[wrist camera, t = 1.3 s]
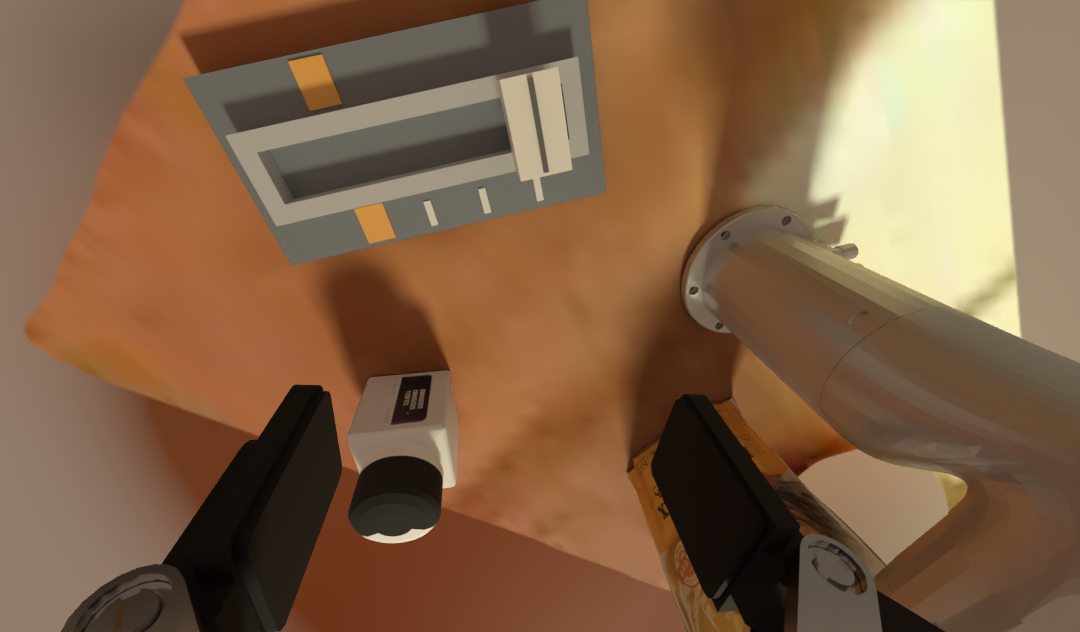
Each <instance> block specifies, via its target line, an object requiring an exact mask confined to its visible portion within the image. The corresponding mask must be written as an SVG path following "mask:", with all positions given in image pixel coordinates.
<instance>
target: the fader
mask: <svg viewBox="0 0 1080 632" xmlns="http://www.w3.org/2000/svg"><path fill="white" fill-rule="evenodd" d="M497 85H498V90H499V94H500V99H501V104H502V108H503V113H504V118H505V122H506V127H507V132H508V136H509V141H510V146H511V150H512V155H513V160H514V164H515V169H516V173H517V175H518V177H519V179H520V181H521V182H522V181H527V180H531V179H535V178H539V177H544V176H548V175H552V174H557V173H561V172H565V171H570V170H572V162H571V155H570V148H569V141H568V134H567V126H566V119H565V112H564V105H563V98H562V91H561V83H560V76H559V69H558V67H555V68H551V69H546V70H542V71H537V72H533V73H528V74H524V75H519V76H515V77H511V78H506V79H502V80H498V81H497Z"/></svg>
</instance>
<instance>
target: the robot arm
mask: <svg viewBox="0 0 1080 632" xmlns="http://www.w3.org/2000/svg"><path fill="white" fill-rule="evenodd" d="M857 255H858V249H857V247H856V245H854V244H851V243H849V244H845V245H841V246H837V247H835V248H830V247H828V246H826V245H824V244H822V243H819V242H817V241H815V239H814V235H813V233H812V230H811V228H810V226H809V225H808V224H807V223H806V222H805V220H804V219H803V218H801V217H800V216H798V215H797V214H795V213H794V212H791V211H788V210H786V209H783V208H779V207H773V206H759V207H754V208H750V209H746V210H743V211H741V212H738V213H736V214H734V215H731V216H730V217H728V218H726V219H725V220H723V221H722V222H720V223H719V224H717V225H716V226H715V227H714V228H713V229H712V230H710V231H709V232H708V233H707V234H706V235H705V236H704V237H703V239H702V240H701V241H700V242H699V243H698V244H697V246H696V247H695V249H694V251H693V252H692V254H691V255H690V257H689V259H688V262H687V264H686V266H685V269H684V273H683V277H682V284H681V293H682V299H683V303H684V305H685V308H686V310H687V311H688V313H689V314H690V315H691V317H692V318H693V319H694V320H695V321H696V322H697V323H698V324H699V325H701V326H703V327H704V328H706V329H708V330H711V331H714V332H718V333H733V334H734V335H735V336H736V337H737V338H738V339H739V340H740V341H741V342H742V343H743V344H744V345H745V346H746V347H747V348H748V349H750V350H751V351H752V352H753V353H754V354H755V355H756V356H757V357H758V358H759V359H760V360H761V361H762V362H763V363H764V364H765V365H766V366H767V367H768V368H769V369H771V370H772V371H773V372H774V373H775V374H776V375H777V376H778V377H779V378H780V379H781V380H782V381H783V382H784V383H785V384H786V385H787V386H788V387H789V388H790V389H792V390H793V391H794V392H795V393H796V394H797V395H798V396H799V397H800V398H801V399H802V400H803V401H804V402H805V403H806V404H807V405H808V406H809V407H810V408H812V409H813V410H814V411H815V412H816V413H817V414H818V415H819V416H820V417H821V418H822V419H823V420H824V421H825V422H826V423H827V424H829V425H830V426H831V427H832V428H833V429H834V430H835V431H836V432H837V433H838V434H839V435H840V436H842V437H843V438H844V439H845V440H846V441H847V442H849V443H850V444H851V445H853V446H854V447H856V448H857V449H859V450H860V451H862V452H864V453H866V454H868V455H870V456H872V457H874V458H876V459H879V460H882V461H885V462H888V463H891V464H895V465H899V466H904V467H909V468H915V469H921V470H928V471H936V472H943V473H948V474H951V475H954V476H956V477H959V478H960V479H962V480H963V481H964V482H965V483H966V485H967V492H966V494H965V496H964V498H963V499H962V500H961V501H960V502H959V503H957V504H956V505H955V506H954V507H953V508H952V509H951V510H950V511H949V512H948V515H946V516H945V517H944V518H943V519H942V520H940V521H939V522H938V523H937V524H935V525H934V526H933V527H932V528H930V529H929V530H928V531H927V532H926V533H924V534H923V535H922V536H921V537H919V538H918V539H917V540H916V541H915V542H913V543H912V544H911V545H910V546H908V547H907V548H906V549H905V550H904V551H902V552H901V553H900V554H899V555H898V556H896V557H895V558H894V559H893V560H892V561H891V562H890V563H889V564H888V565H886V566H885V567H884V568H883V569H882V570H881V571H880V572H879V573H878V574H877V575H876V576H875V577H874V578H873V577H872V575H871V574H870V572H869V570H868V569H867V567H866V566H865V565H864V563H863V562H862V561H861V560H860V559H859V558H858V557H857V556H856V555H855V554H854V553H853V552H852V551H850V550H849V549H848V548H847V547H845V546H844V545H842V544H841V543H839V542H838V541H836V540H834V539H832V538H829V537H827V536H824V535H819V534H810V535H807V536H805V537H804V536H803V535H802V534H801V532H800V531H799V529H800V527H801V526H800V525H799V523H798V522H797V521H796V519H795V518H794V516H793V515H792V514H791V512H790V511H789V510H788V508H787V507H786V505H785V504H784V503H783V501H782V500H781V499H780V497H779V496H778V494H777V493H776V492H775V490H774V489H773V488H772V486H771V485H770V483H769V482H768V481H767V479H766V478H765V476H764V475H763V474H762V472H761V471H760V470H759V468H758V467H757V465H756V464H755V463H754V461H753V460H752V459H751V457H750V456H749V454H748V453H747V452H746V450H745V449H744V448H743V446H742V445H741V443H740V442H739V441H738V439H737V438H736V437H735V435H734V434H733V432H732V431H731V430H730V428H729V427H728V425H727V424H726V423H725V421H724V420H723V419H722V417H721V416H720V414H719V413H718V412H717V410H716V409H715V408H714V406H713V405H712V403H711V402H710V401H709V399H708V398H707V397H706V396H705V395H696V394H684V395H682V396H681V398H680V399H677V400H676V402H675V404H674V406H673V409H672V411H671V414H670V416H669V419H668V421H667V424H666V426H665V429H664V431H663V434H662V436H661V439H660V441H659V444H658V446H657V449H656V451H655V454H654V456H653V459H652V461H651V472H652V475H653V478H654V480H655V482H656V484H657V487H658V489H659V491H660V494H661V496H662V498H663V500H664V503H665V505H666V507H667V510H668V512H669V514H670V517H671V519H672V521H673V523H674V526H675V528H676V530H677V533H678V535H679V537H680V539H681V542H682V544H683V546H684V549H685V551H686V553H687V555H688V558H689V560H690V562H691V565H692V567H693V569H694V571H695V574H696V576H697V578H698V581H699V583H700V585H701V588H702V590H703V592H704V594H705V595H706V596H707V597H708V598H710V599H712V601H713V603H714V606H715V608H716V610H717V612H729V611H737V610H739V612H740V615H741V617H742V619H743V621H744V623H743V630H742V632H1080V363H1079V362H1076V361H1074V360H1071V359H1069V358H1066V357H1064V356H1061V355H1059V354H1057V353H1054V352H1052V351H1049V350H1047V349H1044V348H1042V347H1040V346H1037V345H1035V344H1033V343H1031V342H1028V341H1026V340H1024V339H1021V338H1019V337H1017V336H1015V335H1012V334H1010V333H1008V332H1005V331H1003V330H1001V329H999V328H997V327H994V326H992V325H990V324H988V323H986V322H983V321H981V320H979V319H977V318H975V317H972V316H970V315H968V314H966V313H964V312H961V311H959V310H956V309H954V308H952V307H950V306H947V305H945V304H943V303H941V302H939V301H937V300H934V299H932V298H930V297H928V296H926V295H924V294H921V293H919V292H917V291H915V290H913V289H911V288H908V287H906V286H904V285H902V284H900V283H898V282H895V281H893V280H891V279H889V278H887V277H885V276H882V275H880V274H878V273H876V272H874V271H871V270H869V269H867V268H865V267H864V266H862V265H861V264H859V263H854V262H852V261H850V260H849V259H853V258H855V257H856V256H857ZM341 470H342V462H341V456H340V450H339V444H338V438H337V431H336V425H335V419H334V413H333V407H332V401H331V395H330V392H328V391H323V388H322V387H321V386H320V385H294V386H293V387H292V388H291V389H290V391H289V392H288V394H287V395H286V397H285V398H284V400H283V401H282V403H281V404H280V406H279V407H278V409H277V410H276V412H275V414H274V415H273V417H272V418H271V420H270V421H269V423H268V424H267V426H266V427H265V429H264V430H263V432H262V433H261V435H260V437H259V438H258V440H249V441H248V442H247V443H245V444H244V445H243V446H242V448H241V449H240V450H239V451H238V453H237V455H236V456H235V457H234V459H233V460H232V462H231V463H230V465H229V466H228V468H227V469H226V471H225V472H224V473H223V475H222V476H221V478H220V479H219V481H218V482H217V484H216V485H215V487H214V488H213V490H212V491H211V493H210V494H209V495H208V497H207V498H206V500H205V501H204V503H203V504H202V506H201V507H200V509H199V510H198V512H197V513H196V515H195V516H194V517H193V519H192V520H191V522H190V523H189V525H188V526H187V528H186V529H185V531H184V532H183V534H182V535H181V536H180V538H179V539H178V541H177V543H176V544H175V545H174V547H173V548H172V550H171V551H170V553H169V554H168V555H167V557H166V558H165V560H164V561H163V563H162V564H153V565H148V566H144V567H139V568H136V569H134V570H131V571H129V572H127V573H124V574H122V575H120V576H118V577H116V578H115V579H113V580H111V581H110V582H108V583H106V584H105V585H103V586H102V587H100V588H99V589H98V590H96V591H95V592H94V593H93V594H92V595H90V596H89V597H88V598H87V599H86V600H84V601H83V602H82V603H81V604H80V606H79V607H78V608H77V609H76V610H75V611H74V612H73V614H72V615H71V616H70V617H69V618H68V620H67V621H66V623H65V625H64V627H63V629H62V631H61V632H277V631H281V630H282V629H283V627H284V625H285V623H286V621H287V619H288V616H289V613H290V611H291V608H292V605H293V603H294V600H295V597H296V595H297V592H298V589H299V587H300V584H301V581H302V579H303V576H304V573H305V570H306V568H307V565H308V563H309V560H310V557H311V555H312V552H313V549H314V547H315V544H316V541H317V539H318V536H319V533H320V530H321V528H322V525H323V522H324V520H325V517H326V514H327V512H328V509H329V506H330V503H331V501H332V498H333V496H334V493H335V490H336V488H337V485H338V482H339V479H340V476H341Z"/></svg>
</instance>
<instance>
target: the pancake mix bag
mask: <svg viewBox="0 0 1080 632" xmlns="http://www.w3.org/2000/svg"><path fill="white" fill-rule="evenodd" d="M712 405H713V406H714V408H715V409H716V410H717V412H718V413H719V414H720V416H721V417H722V419H723V420H724V421H725V423H726V424H727V425H728V427H729V428H730V430H731V431H732V432H733V434H734V435H735V437H736V438H737V439H738V441H739V442H740V443H741V445H742V446H743V448H744V449H745V450H746V452H747V453H748V454H749V456H750V457H751V459H752V460H753V461H754V463H755V464H756V465H757V467H758V468H759V470H760V471H761V472H762V474H763V475H764V476H765V478H766V479H767V481H768V482H769V483H770V485H771V486H772V488H773V489H774V490H775V492H776V493H777V494H778V496H779V497H780V499H781V500H782V501H783V503H784V504H785V505H786V507H787V508H788V510H789V511H790V512H791V514H792V515H793V516H794V518H795V519H796V521H797V522H798V523H799V525H800V526H801V527H800V529H799V531H800V532H801V534H802V535H803V536H804V537H805V536H807V535H810V534H819V535H824V536H827V537H829V538H832V539H834V540H836V541H838V542H839V543H841V544H842V545H844V546H845V547H847V548H848V549H849V550H850V551H852V552H853V553H854V554H855V555H856V556H857V557H858V558H859V559H860V560H861V561H862V562H863V563H864V565H865V566H866V567H867V569H868V570H869V572H870V574H871V575H872V577H873V578H874V577H875V576H876V575H877V574H878V573H879V572H880V571H881V570H882V569H883V568H884V567H885V566H886V564H885V563H884V562H883V561H882V560H881V559H880V558H879V557H878V556H877V554H876V553H875V552H874V551H873V550H872V549H871V548H870V547H869V546H868V545H867V544H865V542H864V541H862V539H861V538H860V537H859V536H858V535H857V534H856V533H855V532H854V531H852V529H851V528H850V527H848V526H847V525H846V523H845V522H844V521H842V520H841V519H840V518H839V517H838V516H837V515H836V514H835V513H834V512H833V511H831V510H830V509H829V508H828V507H827V506H826V505H825V504H824V503H822V502H821V501H820V500H819V499H818V498H817V497H816V496H815V495H813V494H812V493H811V492H810V491H809V490H808V488H807V487H806V486H805V485H804V484H803V483H802V482H801V480H800V479H799V478H798V477H797V476H796V475H795V474H794V473H793V471H792V470H791V469H790V468H789V467H788V466H787V465H786V463H785V462H784V461H783V460H782V459H781V458H780V457H779V455H777V454H776V453H775V452H774V451H773V450H772V449H770V448H769V447H768V446H767V445H766V444H765V443H764V442H763V441H762V440H761V439H760V438H759V437H758V436H757V435H756V433H755V432H754V431H753V430H752V429H751V427H750V426H749V425H748V423H747V422H746V420H745V419H744V417H743V416H742V414H741V412H740V410H739V408H738V406H737V404H736V402H735V400H734V397H732V398H731V399H729V400H727V401H725V402H723V403H721V404H720V403H712ZM660 439H661V437H660V438H659V439H657V440H656V441H654V442H653V443H651V444H650V445H648V446H647V447H646V448H644V449H643V450H642V451H640V452H639V453H638V454H637V455H636V456H635V457H634V458H633V459H632V461H633V465H634V467H633V468H632V470H631V471H630V472H629V473H628V474H627V476H628V478H629V480H630V481H631V483H632V484H633V486H634V488H635V489H636V491H637V494H638V497H639V501H640V504H641V507H642V510H643V513H644V516H645V519H646V522H647V525H648V528H649V531H650V533H651V536H652V538H653V541H654V543H655V546H656V549H657V552H658V554H659V557H660V560H661V563H662V566H663V570H664V572H665V575H666V578H667V581H668V583H669V586H670V589H671V592H672V595H673V598H674V601H675V604H676V606H677V608H678V611H679V612H680V615H681V617H682V619H683V622H684V625H685V628H686V631H687V632H742V630H743V623H744V621H743V619H742V617H741V615H740V612H739V610H737V611H729V612H717V610H716V608H715V606H714V603H713V601H712V599H710V598H708V597H707V596H706V595H705V594H704V592H703V590H702V588H701V585H700V583H699V581H698V578H697V576H696V574H695V571H694V569H693V567H692V565H691V562H690V560H689V558H688V555H687V553H686V551H685V549H684V546H683V544H682V542H681V539H680V537H679V535H678V533H677V530H676V528H675V526H674V523H673V521H672V519H671V517H670V514H669V512H668V510H667V507H666V505H665V503H664V500H663V498H662V496H661V494H660V491H659V489H658V487H657V484H656V482H655V480H654V478H653V475H652V472H651V461H652V459H653V456H654V454H655V451H656V449H657V446H658V444H659V441H660Z"/></svg>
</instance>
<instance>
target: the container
mask: <svg viewBox="0 0 1080 632" xmlns="http://www.w3.org/2000/svg"><path fill="white" fill-rule="evenodd" d="M458 428H459V425H458V418H457V412H456V405H455V399H454V393H453V386H452V380H451V374H450V372H449V371H448V370H444V371H433V372H422V373H412V374H401V375H391V376H380V377H371V378H369V379H368V380H367V383H366V386H365V389H364V391H363V394H362V397H361V400H360V402H359V405H358V408H357V411H356V414H355V416H354V419H353V422H352V425H351V427H350V430H349V433H348V436H347V441H348V444H349V447H350V449H351V452H352V455H353V457H354V460H355V463H356V466H357V468H358V471H359V478H358V481H357V485H356V488H355V491H354V495H353V498H352V502H351V505H350V508H349V511H348V517H349V521H350V523H351V525H352V526H353V528H354V529H355V530H356V531H357V532H358V533H359V534H360V535H361V536H363V537H365V538H367V539H370V540H373V541H377V542H383V543H401V542H407V541H411V540H414V539H417V538H419V537H421V536H423V535H425V534H426V533H427V532H429V530H431V529H432V528H433V527H434V526H435V525H436V524H437V522H438V520H439V518H440V514H441V501H442V488H449V487H453V486H455V484H456V473H457V450H458Z"/></svg>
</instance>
